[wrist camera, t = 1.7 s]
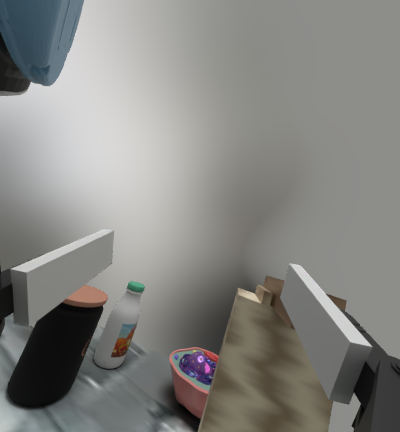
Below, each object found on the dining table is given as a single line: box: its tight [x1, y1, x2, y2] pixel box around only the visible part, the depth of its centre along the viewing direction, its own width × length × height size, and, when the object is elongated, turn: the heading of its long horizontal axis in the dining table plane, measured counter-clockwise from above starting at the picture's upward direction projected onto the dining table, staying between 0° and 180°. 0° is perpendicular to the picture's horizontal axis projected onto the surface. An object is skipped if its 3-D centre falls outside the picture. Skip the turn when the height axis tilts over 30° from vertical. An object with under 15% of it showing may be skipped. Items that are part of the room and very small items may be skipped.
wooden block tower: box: [198, 285, 333, 432], centre depth 24 cm, size 12×9×32 cm
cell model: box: [169, 347, 219, 419], centre depth 46 cm, size 17×20×11 cm
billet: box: [263, 276, 346, 330], centre depth 25 cm, size 4×20×4 cm, turn 169°
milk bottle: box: [94, 281, 145, 369], centre depth 52 cm, size 8×8×20 cm
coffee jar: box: [8, 285, 108, 407], centre depth 38 cm, size 11×11×18 cm
